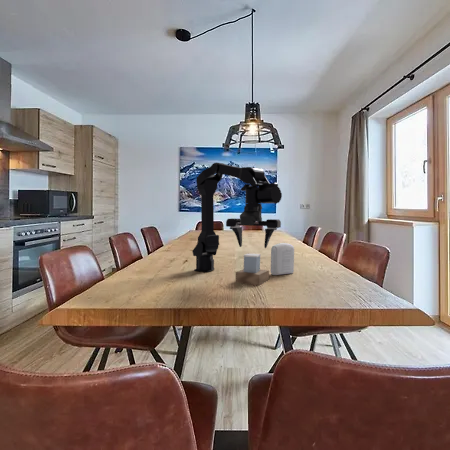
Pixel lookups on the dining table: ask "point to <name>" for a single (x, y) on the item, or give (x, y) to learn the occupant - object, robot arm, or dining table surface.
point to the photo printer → (282, 259)
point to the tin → (252, 263)
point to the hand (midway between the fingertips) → (252, 247)
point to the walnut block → (252, 277)
